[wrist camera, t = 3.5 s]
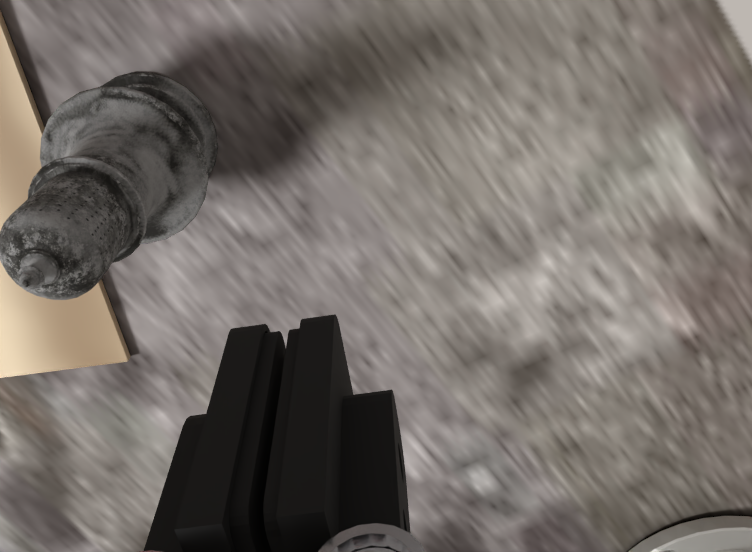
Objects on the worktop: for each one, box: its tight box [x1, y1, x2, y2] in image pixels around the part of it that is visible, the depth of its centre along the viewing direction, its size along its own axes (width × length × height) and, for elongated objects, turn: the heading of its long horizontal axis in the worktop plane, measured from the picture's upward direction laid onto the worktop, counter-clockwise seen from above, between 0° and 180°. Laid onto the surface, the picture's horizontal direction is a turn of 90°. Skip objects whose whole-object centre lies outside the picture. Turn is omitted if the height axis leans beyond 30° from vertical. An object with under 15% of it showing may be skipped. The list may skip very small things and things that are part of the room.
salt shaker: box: [0, 73, 218, 300], centre depth 23 cm, size 6×6×12 cm
